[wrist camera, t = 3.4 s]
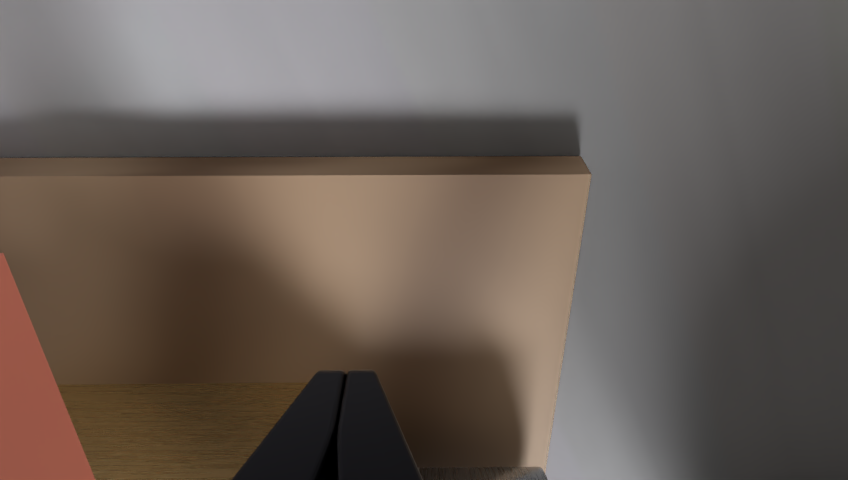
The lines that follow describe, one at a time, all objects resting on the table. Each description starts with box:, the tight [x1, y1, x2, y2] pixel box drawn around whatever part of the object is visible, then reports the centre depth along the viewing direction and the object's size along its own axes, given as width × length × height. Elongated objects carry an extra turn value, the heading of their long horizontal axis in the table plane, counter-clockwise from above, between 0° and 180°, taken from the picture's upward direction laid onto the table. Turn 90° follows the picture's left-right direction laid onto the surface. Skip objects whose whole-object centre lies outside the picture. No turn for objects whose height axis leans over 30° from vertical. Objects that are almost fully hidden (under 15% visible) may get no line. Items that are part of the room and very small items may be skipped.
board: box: [0, 156, 591, 473], centre depth 18 cm, size 20×17×1 cm
